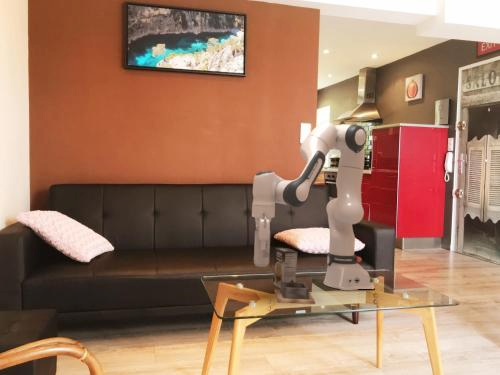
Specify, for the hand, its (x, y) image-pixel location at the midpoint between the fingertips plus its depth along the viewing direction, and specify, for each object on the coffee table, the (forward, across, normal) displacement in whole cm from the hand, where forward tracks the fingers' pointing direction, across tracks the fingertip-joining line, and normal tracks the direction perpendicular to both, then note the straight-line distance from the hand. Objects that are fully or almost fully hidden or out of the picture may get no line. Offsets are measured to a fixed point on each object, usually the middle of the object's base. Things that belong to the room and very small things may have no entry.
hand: (262, 248), depth 168 cm
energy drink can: (+7, 0, 0) cm, 7 cm away
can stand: (+20, +1, -13) cm, 24 cm away
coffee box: (+20, +17, -11) cm, 28 cm away
